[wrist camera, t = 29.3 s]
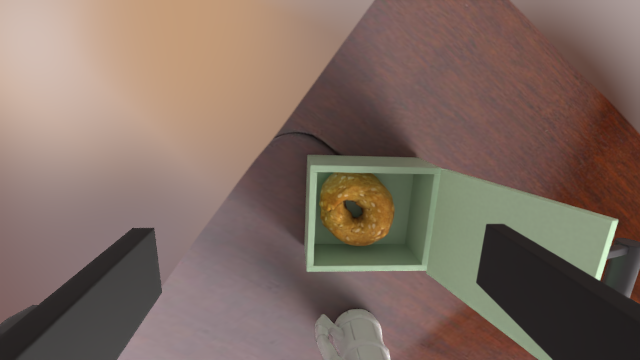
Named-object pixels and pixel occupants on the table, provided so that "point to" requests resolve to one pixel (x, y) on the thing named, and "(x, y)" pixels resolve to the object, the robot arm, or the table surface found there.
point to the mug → (351, 337)
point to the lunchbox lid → (534, 223)
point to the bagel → (366, 196)
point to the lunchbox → (405, 232)
